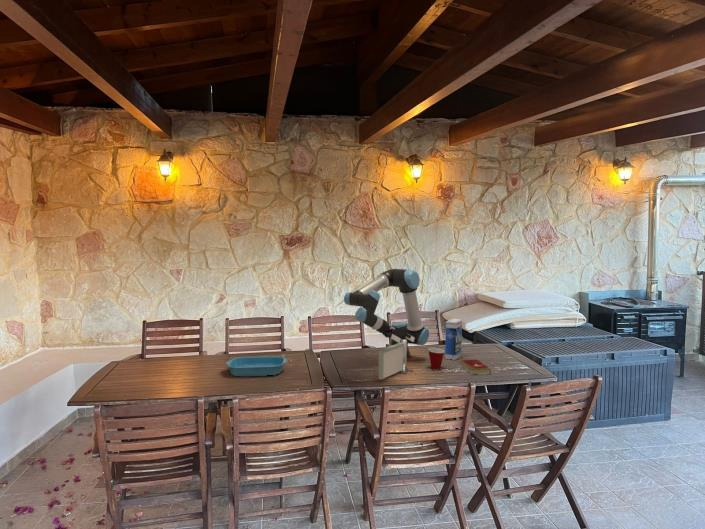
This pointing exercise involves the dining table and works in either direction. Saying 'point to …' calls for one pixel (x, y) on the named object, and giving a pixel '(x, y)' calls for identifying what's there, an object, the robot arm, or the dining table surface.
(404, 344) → the post
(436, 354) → the plastic cup
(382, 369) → the beige panel
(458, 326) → the string lights box
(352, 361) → the dining table surface
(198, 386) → the dining table surface
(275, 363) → the casserole dish
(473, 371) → the hardcover book
